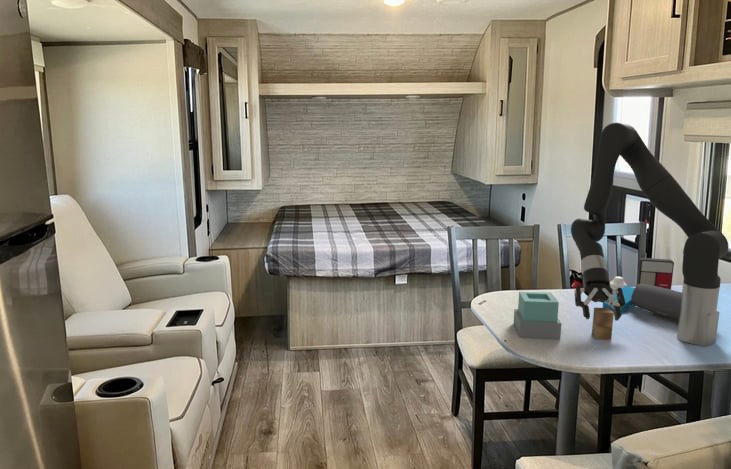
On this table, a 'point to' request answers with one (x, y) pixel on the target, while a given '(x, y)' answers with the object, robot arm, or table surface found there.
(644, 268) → the color panel box
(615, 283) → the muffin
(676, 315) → the bluetooth speaker
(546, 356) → the table surface
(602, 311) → the walnut brick
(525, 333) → the tower base
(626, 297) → the blue rectangular block
